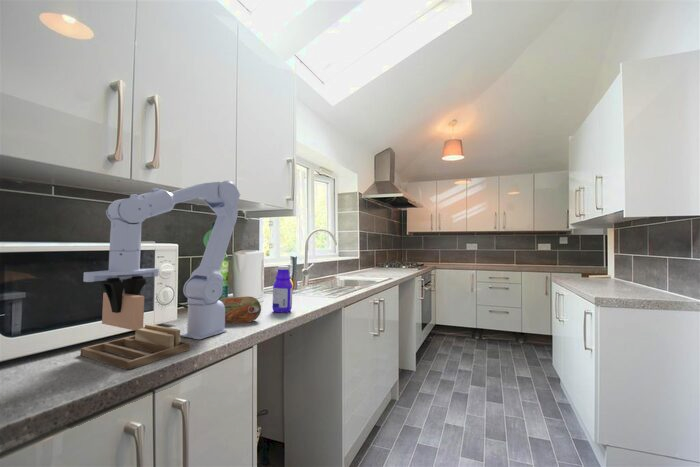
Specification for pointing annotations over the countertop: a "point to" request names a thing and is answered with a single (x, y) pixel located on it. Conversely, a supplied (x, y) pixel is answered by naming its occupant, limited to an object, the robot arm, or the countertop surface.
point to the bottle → (282, 291)
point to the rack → (131, 352)
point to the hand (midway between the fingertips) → (122, 311)
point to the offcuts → (158, 335)
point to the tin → (241, 309)
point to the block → (125, 312)
